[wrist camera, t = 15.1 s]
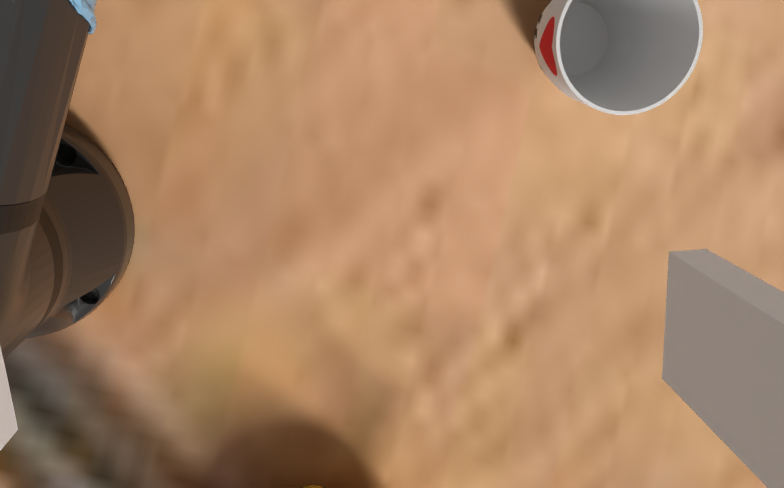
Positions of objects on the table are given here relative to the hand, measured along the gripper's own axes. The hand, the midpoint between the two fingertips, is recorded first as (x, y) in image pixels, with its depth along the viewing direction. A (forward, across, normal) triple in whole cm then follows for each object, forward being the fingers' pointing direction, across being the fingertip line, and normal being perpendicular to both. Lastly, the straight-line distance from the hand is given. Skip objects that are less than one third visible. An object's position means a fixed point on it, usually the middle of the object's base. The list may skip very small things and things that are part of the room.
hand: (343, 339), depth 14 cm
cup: (+37, +16, +5) cm, 41 cm away
